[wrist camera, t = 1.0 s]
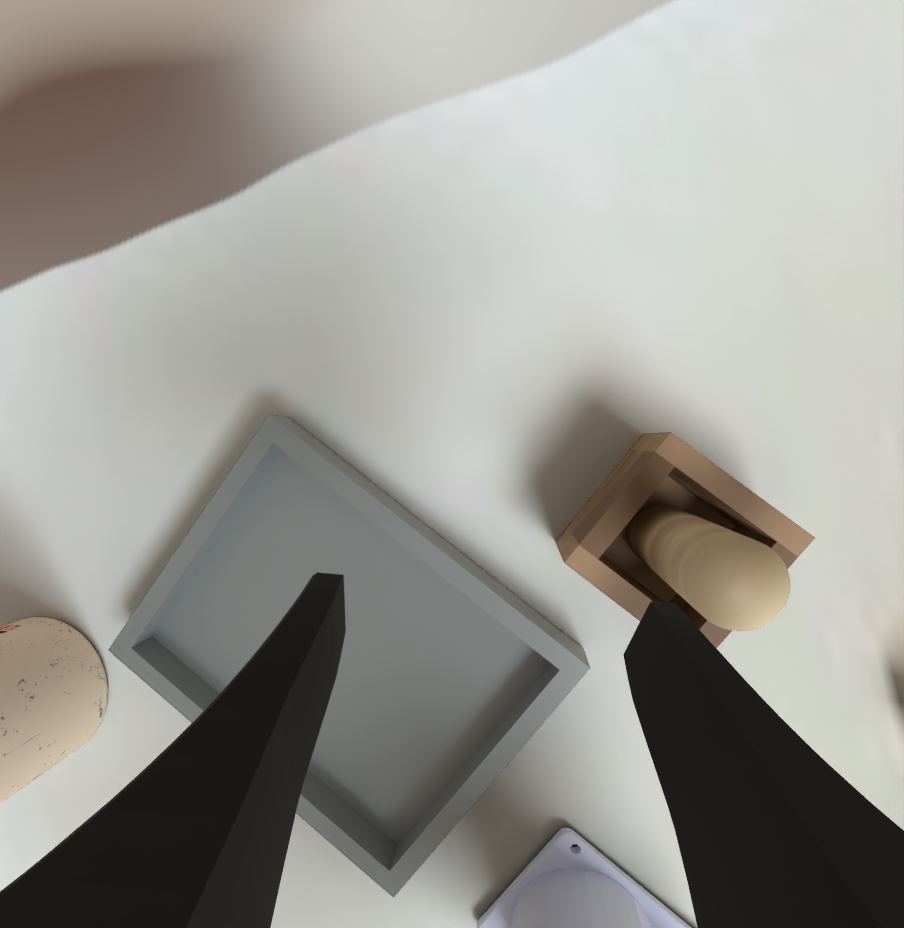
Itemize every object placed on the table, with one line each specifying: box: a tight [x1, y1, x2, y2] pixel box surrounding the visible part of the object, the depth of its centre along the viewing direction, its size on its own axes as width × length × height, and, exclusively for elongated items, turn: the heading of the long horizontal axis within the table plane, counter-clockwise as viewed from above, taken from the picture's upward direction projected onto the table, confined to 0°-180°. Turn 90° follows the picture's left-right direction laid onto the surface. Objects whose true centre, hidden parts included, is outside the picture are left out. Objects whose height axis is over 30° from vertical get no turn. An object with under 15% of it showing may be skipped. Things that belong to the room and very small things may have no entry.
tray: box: [108, 415, 590, 897], centre depth 24 cm, size 20×16×2 cm
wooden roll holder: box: [556, 432, 815, 648], centre depth 21 cm, size 7×7×4 cm
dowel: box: [627, 503, 790, 631], centre depth 18 cm, size 3×3×8 cm
